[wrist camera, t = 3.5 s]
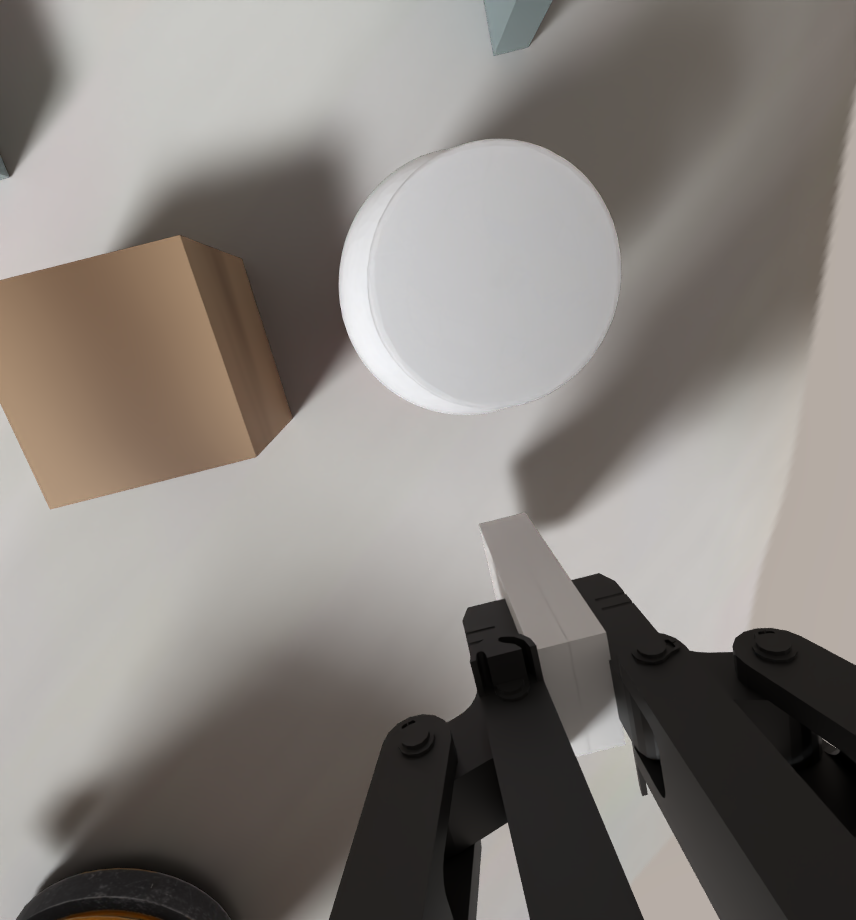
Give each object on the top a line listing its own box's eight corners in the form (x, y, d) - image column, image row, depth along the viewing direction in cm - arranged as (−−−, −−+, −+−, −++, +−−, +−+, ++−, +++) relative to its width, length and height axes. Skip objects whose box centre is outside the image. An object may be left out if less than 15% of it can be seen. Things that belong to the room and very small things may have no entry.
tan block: (144, 455, 17) (50, 509, 13) (80, 299, 16) (-52, 293, 11) (293, 417, 17) (256, 457, 13) (242, 258, 16) (180, 235, 11)
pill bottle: (334, 354, 17) (280, 395, 8) (380, 181, 16) (369, 21, 7) (491, 402, 18) (589, 484, 9) (546, 240, 16) (717, 159, 8)
